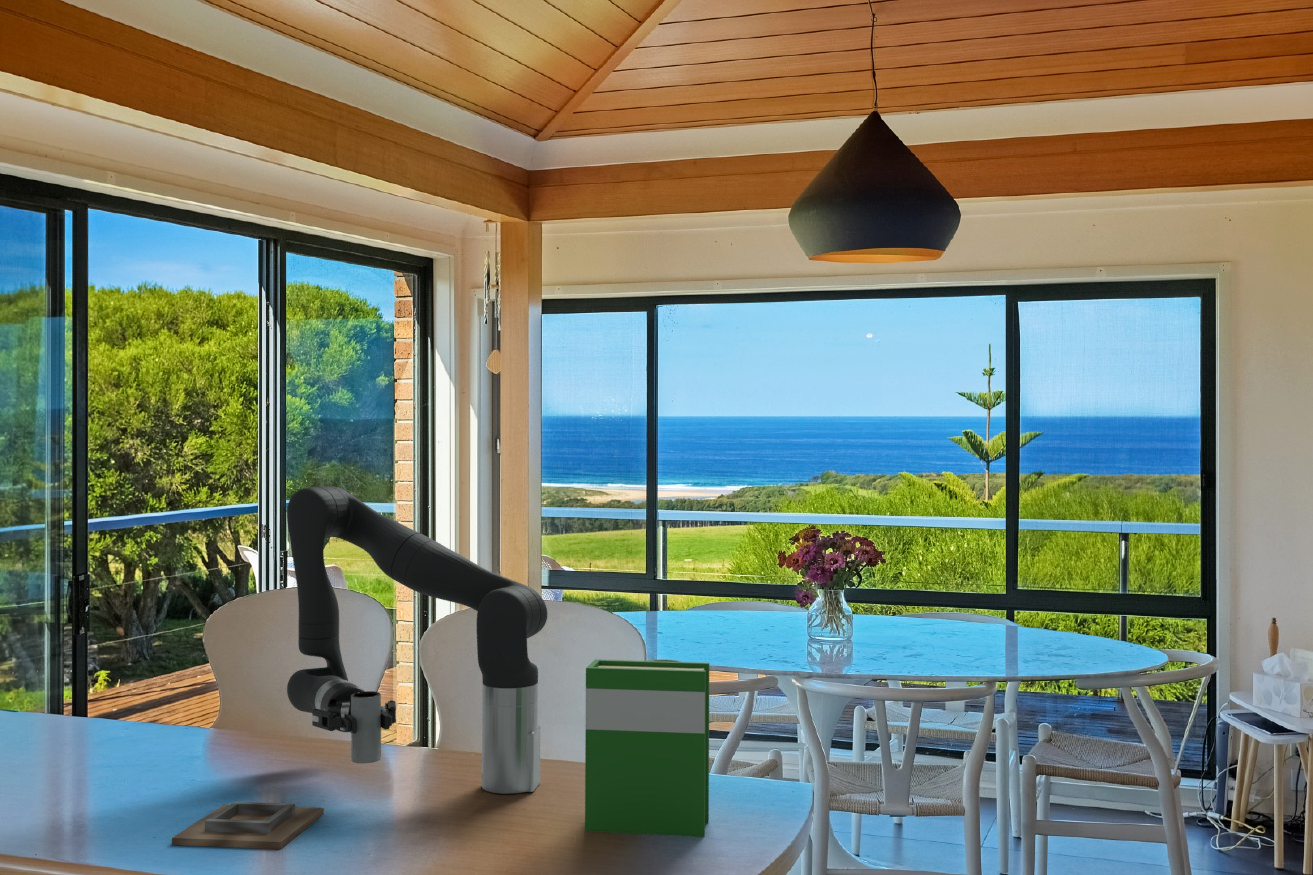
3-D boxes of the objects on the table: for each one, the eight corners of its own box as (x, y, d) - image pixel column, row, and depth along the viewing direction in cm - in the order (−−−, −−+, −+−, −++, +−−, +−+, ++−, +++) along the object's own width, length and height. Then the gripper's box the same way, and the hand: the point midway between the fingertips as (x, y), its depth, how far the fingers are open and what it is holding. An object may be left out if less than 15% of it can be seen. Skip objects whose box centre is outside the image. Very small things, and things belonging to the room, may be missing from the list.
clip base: (323, 814, 182) (323, 798, 182) (280, 848, 166) (281, 831, 166) (223, 810, 183) (223, 794, 183) (171, 844, 167) (171, 827, 167)
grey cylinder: (373, 764, 183) (373, 697, 183) (346, 763, 184) (345, 696, 184) (386, 756, 187) (385, 691, 187) (359, 755, 188) (358, 690, 188)
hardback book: (708, 821, 180) (709, 662, 180) (704, 836, 172) (705, 671, 173) (594, 815, 182) (594, 659, 182) (584, 831, 174) (585, 667, 175)
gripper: (298, 686, 194) (324, 705, 180) (384, 677, 201) (416, 695, 187) (298, 732, 194) (324, 755, 179) (384, 721, 201) (416, 743, 186)
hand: (371, 724), depth 183 cm, fingers closed on grey cylinder, 4 cm apart
